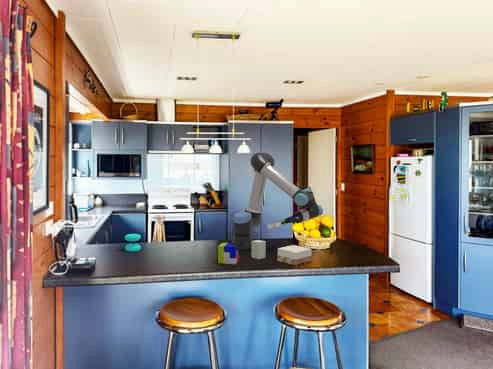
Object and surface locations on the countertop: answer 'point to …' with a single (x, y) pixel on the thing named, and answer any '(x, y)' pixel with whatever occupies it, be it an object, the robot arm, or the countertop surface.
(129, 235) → the teal spool
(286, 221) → the robot arm
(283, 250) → the tower top
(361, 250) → the countertop surface
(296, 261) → the tower base
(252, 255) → the sage block
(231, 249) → the puzzle toy
